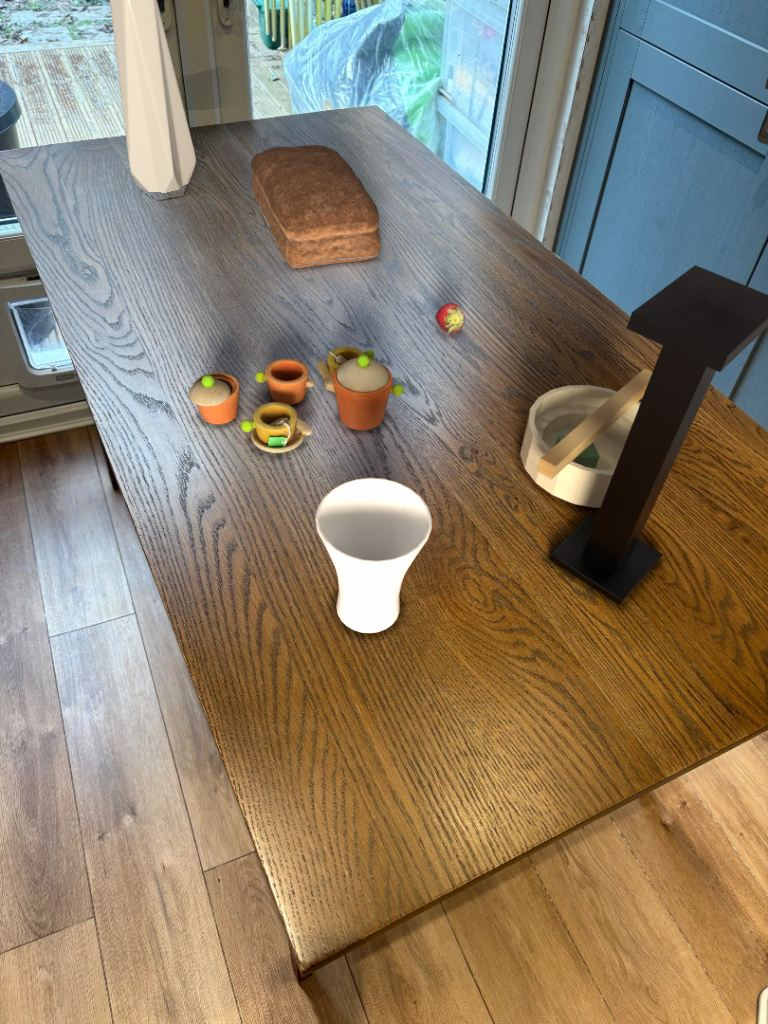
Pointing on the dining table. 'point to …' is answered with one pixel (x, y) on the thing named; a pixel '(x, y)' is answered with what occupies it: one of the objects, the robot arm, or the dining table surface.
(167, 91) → the vase
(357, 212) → the bread
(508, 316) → the dining table surface
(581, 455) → the block
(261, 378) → the toy tea set
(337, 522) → the cup
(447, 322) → the fruit
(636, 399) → the rectangular bar
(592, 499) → the bowl
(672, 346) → the stand
